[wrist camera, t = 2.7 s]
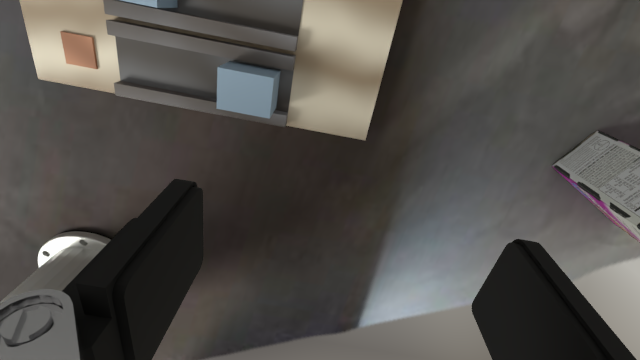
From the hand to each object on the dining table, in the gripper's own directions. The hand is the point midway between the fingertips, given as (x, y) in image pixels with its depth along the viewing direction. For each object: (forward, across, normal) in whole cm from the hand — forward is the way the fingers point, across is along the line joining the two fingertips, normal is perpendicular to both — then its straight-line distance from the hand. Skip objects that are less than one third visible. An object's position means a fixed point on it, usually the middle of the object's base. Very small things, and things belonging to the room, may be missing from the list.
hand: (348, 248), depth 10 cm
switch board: (+21, +11, -3) cm, 24 cm away
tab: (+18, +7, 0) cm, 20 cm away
